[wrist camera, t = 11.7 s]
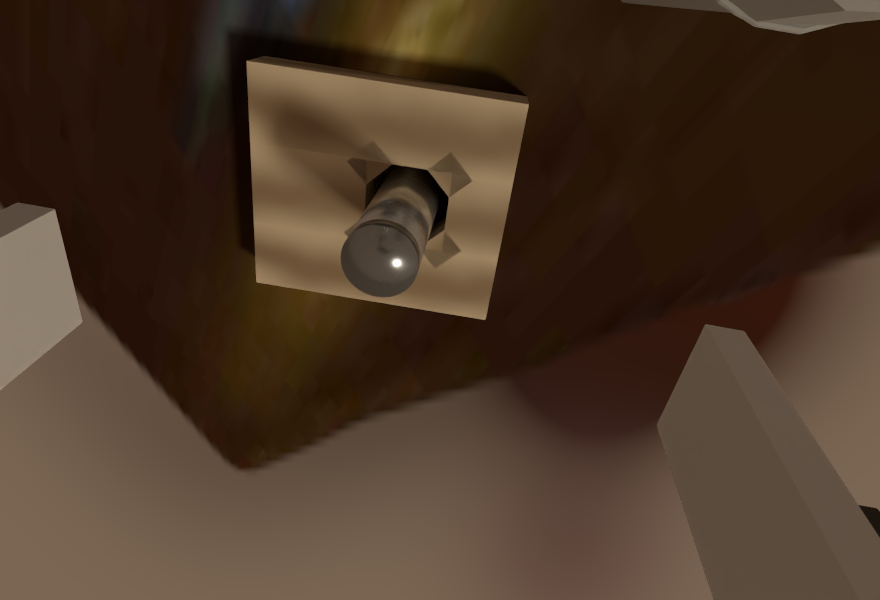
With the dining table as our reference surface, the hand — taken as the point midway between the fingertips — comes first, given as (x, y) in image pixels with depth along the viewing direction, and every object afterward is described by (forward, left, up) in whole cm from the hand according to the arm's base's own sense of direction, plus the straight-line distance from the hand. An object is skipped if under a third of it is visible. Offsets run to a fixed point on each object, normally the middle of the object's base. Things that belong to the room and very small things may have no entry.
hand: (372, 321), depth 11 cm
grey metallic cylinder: (+8, -3, -30) cm, 31 cm away
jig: (+8, -5, -30) cm, 31 cm away
